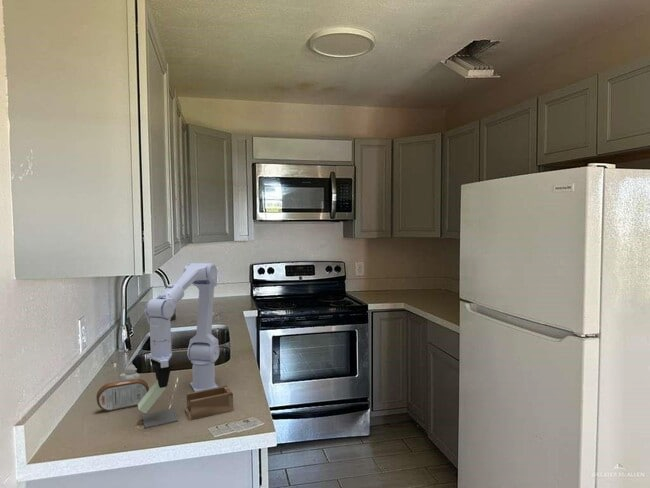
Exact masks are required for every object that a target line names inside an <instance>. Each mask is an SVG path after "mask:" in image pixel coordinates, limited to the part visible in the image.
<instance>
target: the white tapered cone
mask: <svg viewBox="0 0 650 488" xmlns="http://www.w3.org/2000/svg"><path fill="white" fill-rule="evenodd" d="M137 370H138V368H136V366H135V365H134V364H133V362H130V364H129V365H128V366H127V367H126V369H125V372H126V373H120V375H119V378H120V381H124V380H131V379H141V376H140V374H139V373H138V372H137Z"/></svg>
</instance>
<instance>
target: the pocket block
mask: <svg viewBox="0 0 650 488" xmlns="http://www.w3.org/2000/svg"><path fill="white" fill-rule="evenodd" d="M232 411H234V392H232V390H231V389H230V388H229V387H228V385H222V386H218V387H216V388H211V389H206V390H201V391H196V392H195V391H192V392H187V393H186V406H185V407H184V413H185V414H186V416H187V419H188V421H193V420H198V419H200V418H205V417H210V416H214V415H218V414H224V413H228V412H232Z"/></svg>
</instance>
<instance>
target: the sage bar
mask: <svg viewBox="0 0 650 488" xmlns="http://www.w3.org/2000/svg"><path fill="white" fill-rule="evenodd" d="M169 385H170V383H169V382H168V385H167V387H168V386H169ZM167 387H163V388H160V387H159V384H158V380H157V379H156V381H155V382H154V383H153V384H152V386H151V387H150V388H149V391H148V392H147V393H146V395H145V396H144V397H143V398H142V400H141V401H140V402H139V403H138V406H137V407H138V410H139V411H140V412H142V413H144V414H148V411H149V410H150V409H151V408H152V407H153V405H154V404H155V402H156V401H157V400H158V399H159V398H160V396H161V395H162V393H164V391H165V390H166V389H167Z"/></svg>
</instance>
